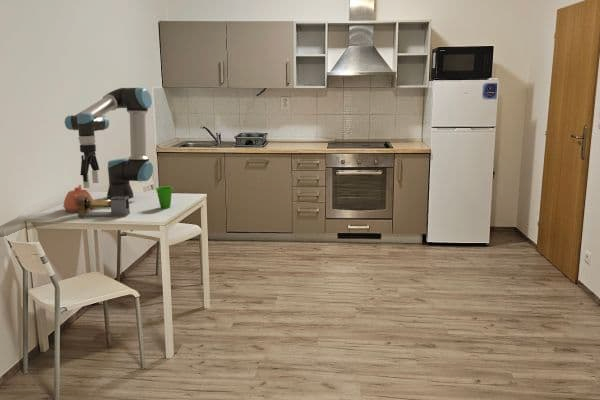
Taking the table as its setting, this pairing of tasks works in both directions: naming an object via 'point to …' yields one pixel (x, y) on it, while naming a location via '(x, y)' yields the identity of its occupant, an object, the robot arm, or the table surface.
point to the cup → (164, 196)
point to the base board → (102, 214)
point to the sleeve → (120, 205)
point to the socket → (82, 206)
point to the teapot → (74, 199)
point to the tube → (97, 204)
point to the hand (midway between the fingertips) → (91, 185)
